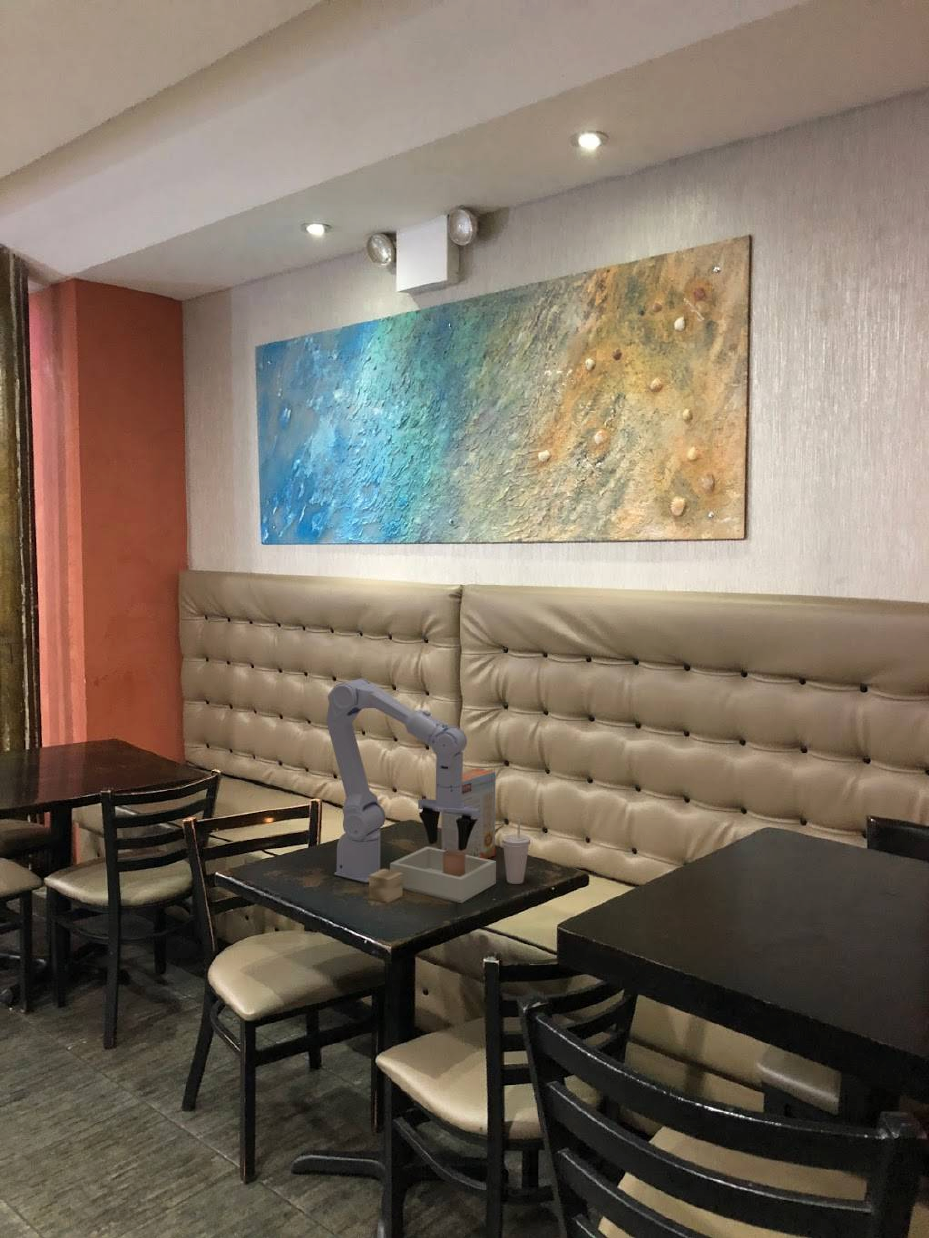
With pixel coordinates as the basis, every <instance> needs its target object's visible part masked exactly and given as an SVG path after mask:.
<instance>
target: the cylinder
mask: <svg viewBox="0 0 929 1238" xmlns="http://www.w3.org/2000/svg"><path fill="white" fill-rule="evenodd" d="M465 867H466V853H465V852H463V851H460V850H448V851H445V852H443V868H442V873H444V874H449V875H453V876H458V877H461V876H463V875H465Z"/></svg>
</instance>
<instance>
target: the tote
mask: <svg viewBox="0 0 929 1238" xmlns="http://www.w3.org/2000/svg"><path fill="white" fill-rule="evenodd" d="M445 851H446V850H442V848H441V849H440V848H436V847H431V846H424V847H422V848H421V849H418V850H417V851H413V852H412V853H410V854H407V855H405V856H403V857H401V858H399V859H397V860H394V861H392V862H390V863H389V870H391V871H396V872H400V873H403V887H402V890H406V891H410V892H413V893H418V894H423V895H426V896H431V897H435V898H439V899H442V900H447V901H451V902H455V903H459V904H463V903H465V902H466V901H467V900H470V899H471V898H474V896H477V895H478V894H479V893H482V892H483V891H485V890H487V889H488V888H490V887H492V886H494V885H495V884H497V873H496V872H497V860H491V859H489V858H487V859H483V858H479V857H474V856H469V855H466V867H465V875H463V876H461V877H458V876H453V875H449V874H444V873H442V868H443V852H445Z"/></svg>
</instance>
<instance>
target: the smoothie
mask: <svg viewBox="0 0 929 1238" xmlns="http://www.w3.org/2000/svg"><path fill="white" fill-rule="evenodd" d="M501 844H502V846H503V847H502V848H503V853H504V854H503V856H504V865H505V874H506V876H505V877H506V881H507V883H509V884H512V885H513V884H515V885H517V884H518V885H519V884H522V883H524V879H525V873H526V866H527V859H528V854H529V848H530V847H529V846H530V845H531V838H530V837H529V836H527V835H524V834H521V819H520V818H519V819H517V834H513V833H512V834H506V835H504V836H502V837H501Z"/></svg>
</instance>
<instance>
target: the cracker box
mask: <svg viewBox="0 0 929 1238" xmlns="http://www.w3.org/2000/svg"><path fill="white" fill-rule="evenodd" d="M462 803H463V804H465V805H468V806H471V807H474V808H478V809H480V817H479V818H478V820H477V822H476V823H475V825H474V827H473V829H472V831H471V834H470V837H469V840H468V844H467V848H466V849H464V850H462V851H463V852H465V853H466V855H469V856H474V857H479V858H483V859H489V858H491V857H494V856H495V855H496V771H495V770H491V769H490V770H489V769H485V768H479V767H478V768H477V767H476V768H474V769H470V770H467V771H464V772H463V771H462ZM440 814H441V815H440V816H441V850H446V851H448V850H459V846H458V844H459V834H458V827H457V823H456V820H457V819H459V818H462V816H459V815H454V814H448V813H443V812H440Z"/></svg>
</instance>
